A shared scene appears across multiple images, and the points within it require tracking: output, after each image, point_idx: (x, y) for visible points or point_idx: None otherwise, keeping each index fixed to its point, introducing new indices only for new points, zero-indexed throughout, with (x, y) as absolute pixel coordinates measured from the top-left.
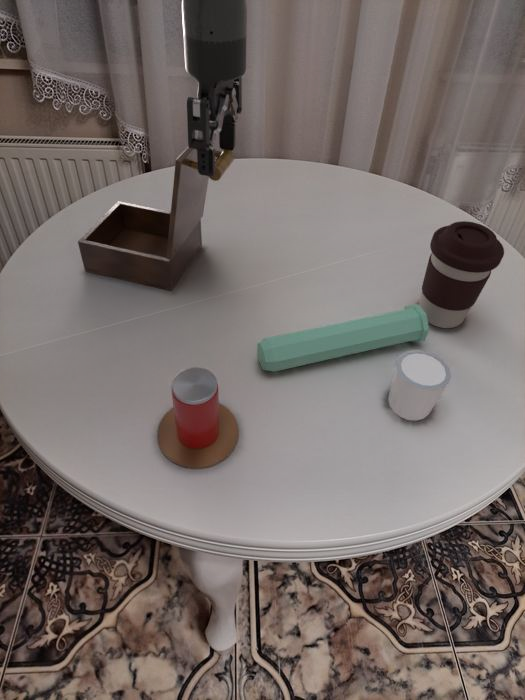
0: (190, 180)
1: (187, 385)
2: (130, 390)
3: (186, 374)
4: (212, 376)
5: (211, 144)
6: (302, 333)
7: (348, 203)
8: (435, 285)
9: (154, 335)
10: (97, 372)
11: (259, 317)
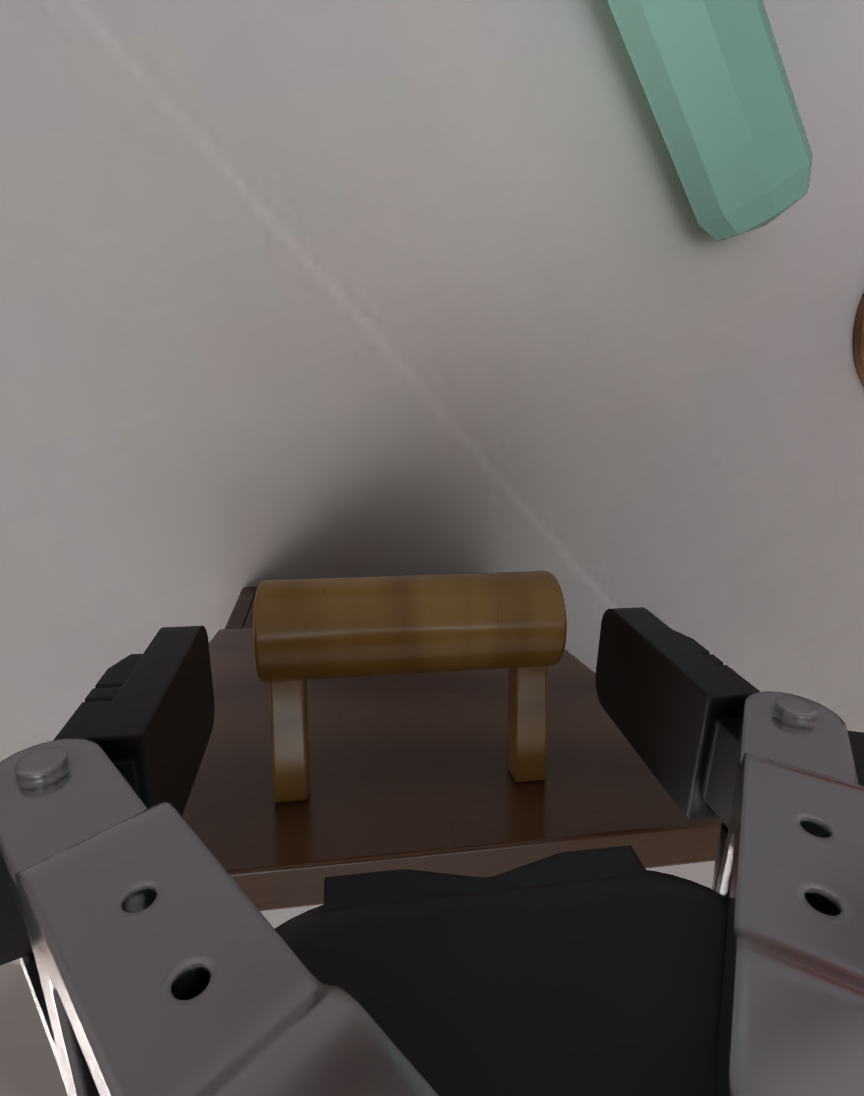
0: (482, 724)
1: None
2: (832, 516)
3: None
4: None
5: (845, 726)
6: (738, 60)
7: None
8: None
9: (664, 544)
10: (792, 605)
11: (531, 286)
